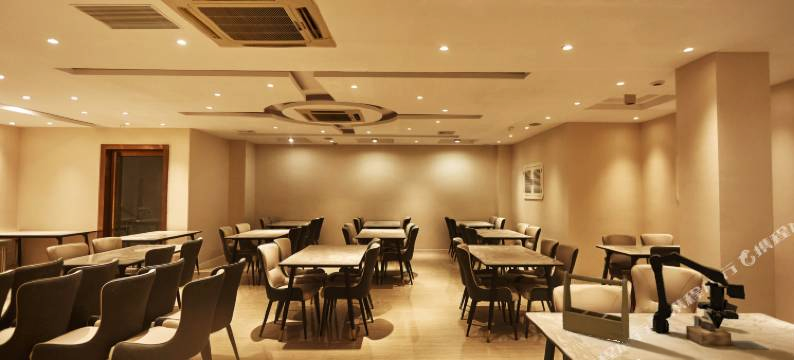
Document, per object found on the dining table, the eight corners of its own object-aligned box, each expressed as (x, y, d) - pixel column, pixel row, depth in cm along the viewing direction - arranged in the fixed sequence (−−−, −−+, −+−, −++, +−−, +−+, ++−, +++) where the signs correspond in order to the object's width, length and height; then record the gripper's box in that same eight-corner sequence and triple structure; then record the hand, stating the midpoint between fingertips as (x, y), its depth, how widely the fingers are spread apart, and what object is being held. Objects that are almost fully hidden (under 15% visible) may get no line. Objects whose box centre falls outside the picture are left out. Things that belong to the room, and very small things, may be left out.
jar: (713, 329, 212) (713, 306, 212) (695, 325, 218) (694, 303, 219) (719, 326, 216) (719, 304, 217) (702, 322, 223) (701, 300, 224)
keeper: (698, 335, 203) (698, 317, 203) (694, 333, 206) (694, 315, 206) (708, 335, 202) (708, 317, 203) (703, 333, 206) (703, 315, 206)
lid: (701, 337, 189) (701, 326, 189) (686, 329, 199) (686, 319, 199) (731, 337, 189) (731, 326, 189) (714, 330, 199) (714, 320, 199)
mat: (740, 349, 185) (740, 348, 185) (723, 341, 195) (723, 340, 195) (769, 349, 185) (769, 348, 185) (750, 341, 195) (750, 340, 195)
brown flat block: (701, 345, 189) (701, 335, 189) (686, 338, 199) (686, 327, 199) (731, 346, 189) (731, 335, 189) (714, 338, 198) (714, 328, 199)
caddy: (562, 329, 210) (561, 272, 211) (569, 324, 218) (569, 269, 219) (624, 344, 190) (623, 280, 191) (629, 338, 198) (629, 277, 199)
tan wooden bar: (711, 327, 196) (711, 323, 196) (692, 319, 209) (692, 315, 209) (716, 327, 196) (716, 323, 196) (696, 319, 209) (696, 315, 209)
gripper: (750, 301, 185) (750, 335, 184) (718, 291, 203) (718, 322, 203) (726, 301, 185) (726, 335, 184) (696, 291, 203) (696, 321, 203)
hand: (717, 328), depth 194 cm, fingers closed
